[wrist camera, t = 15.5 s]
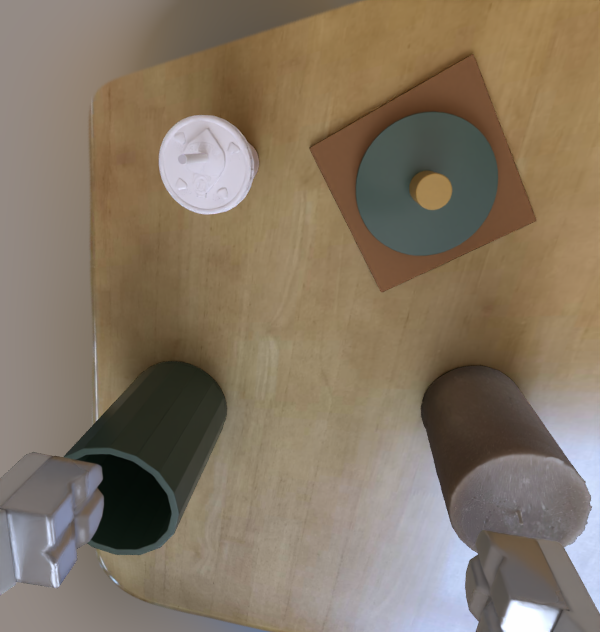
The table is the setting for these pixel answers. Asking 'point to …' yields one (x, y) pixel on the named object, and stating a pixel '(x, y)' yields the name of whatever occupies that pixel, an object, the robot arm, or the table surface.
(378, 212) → the tin lid
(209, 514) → the table surface
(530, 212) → the cork mat
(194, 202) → the smoothie
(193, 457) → the tin
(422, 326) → the table surface
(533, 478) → the pillar candle
